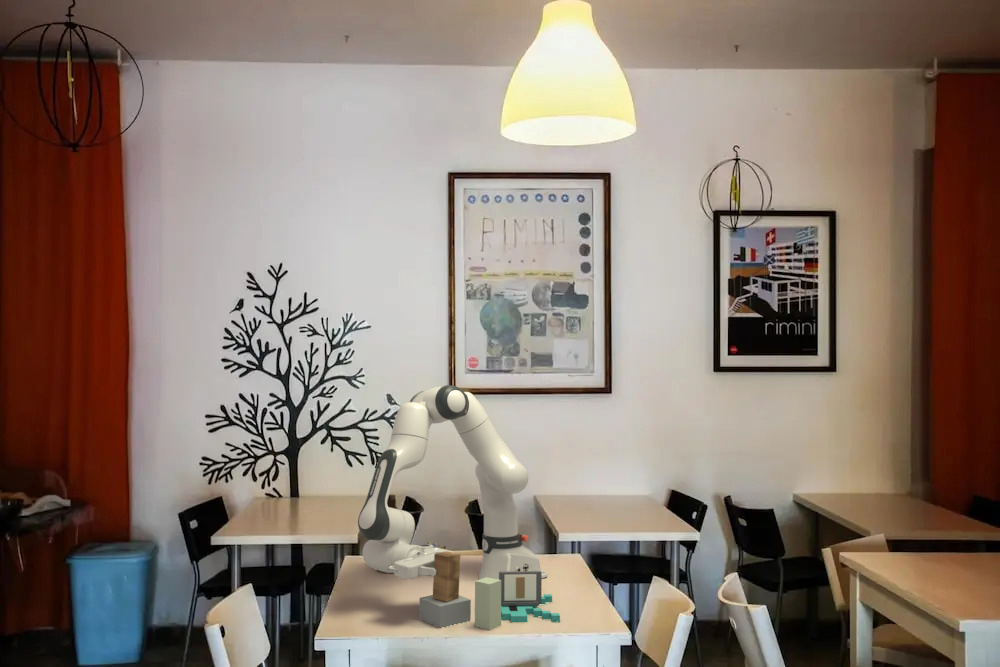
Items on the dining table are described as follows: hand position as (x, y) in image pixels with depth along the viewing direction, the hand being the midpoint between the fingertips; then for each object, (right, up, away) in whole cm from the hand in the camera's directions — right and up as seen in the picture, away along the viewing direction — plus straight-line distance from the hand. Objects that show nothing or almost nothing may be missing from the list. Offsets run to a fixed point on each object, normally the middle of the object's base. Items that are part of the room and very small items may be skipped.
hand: (447, 568), depth 227 cm
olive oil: (-23, -15, +52) cm, 59 cm away
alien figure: (+20, -15, +8) cm, 26 cm away
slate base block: (-1, -14, 0) cm, 14 cm away
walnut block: (-1, -8, 0) cm, 8 cm away
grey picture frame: (+20, -12, +8) cm, 25 cm away
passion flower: (-8, -16, +51) cm, 54 cm away
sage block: (+11, -14, -5) cm, 18 cm away
